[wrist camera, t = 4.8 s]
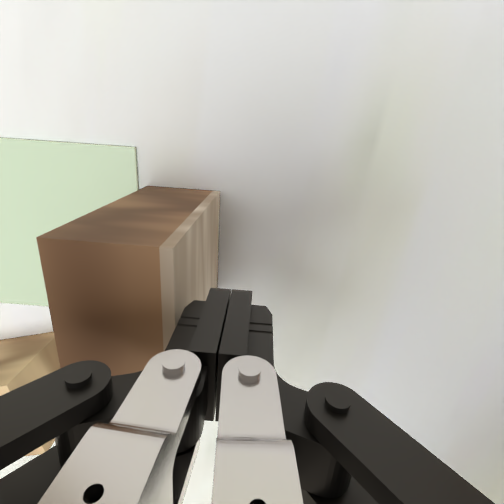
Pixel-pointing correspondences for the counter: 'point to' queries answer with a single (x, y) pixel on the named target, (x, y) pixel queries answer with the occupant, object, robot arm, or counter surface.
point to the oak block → (27, 365)
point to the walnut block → (129, 274)
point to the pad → (51, 201)
